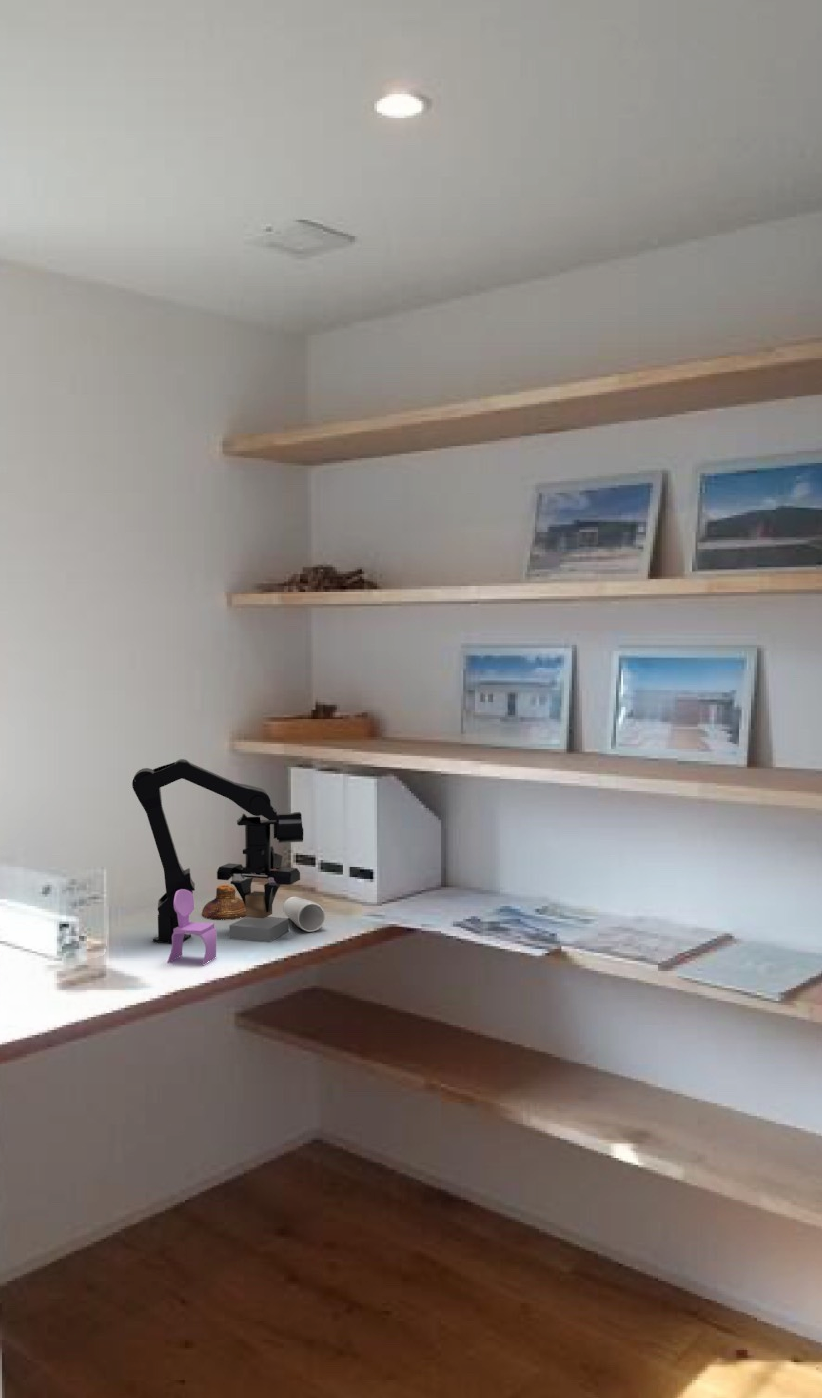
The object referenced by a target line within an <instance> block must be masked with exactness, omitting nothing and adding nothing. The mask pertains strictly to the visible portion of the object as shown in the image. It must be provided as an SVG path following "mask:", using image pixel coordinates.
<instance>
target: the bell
mask: <svg viewBox="0 0 822 1398" xmlns="http://www.w3.org/2000/svg"><path fill="white" fill-rule="evenodd" d="M215 895H216V896H215V898H214V899H212V900H210V901H208V902H207V903H206V904H205V905H204V906H203V908H202V911H201V915H202V917H204V916H205V917H204V918H206V917H207V918H206V919H209V918H211V919H210V920H214V919H217V921H226V920H225V919H231V920H236V919H235V918H238V919H241V918H240V917H242V918H245V916H246V906H245V904H244V902H243V900H242V898H240V897H238V896H236V888H235V886H230V885H229V884H220V885H218V886H217V887H216V894H215ZM221 919H222V920H221ZM223 919H224V920H223Z"/></svg>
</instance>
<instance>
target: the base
mask: <svg viewBox="0 0 822 1398" xmlns="http://www.w3.org/2000/svg"><path fill="white" fill-rule="evenodd" d="M289 919H290V918H289V917H277V916H267V917H265V918H252V917H242V918H240V919H239V920H237V921H235V922H233V923H231V924H230V925H229V930H228V931H229V939H233V940H242V941H255V942H264V941H267V943H270V942H272V941H273V940H276V939H278V938H279V937H281V936H282V935H284V934H287V932H289V931H290V930H289V929H290V928H289V923H290V922H289V921H290V920H289Z"/></svg>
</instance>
